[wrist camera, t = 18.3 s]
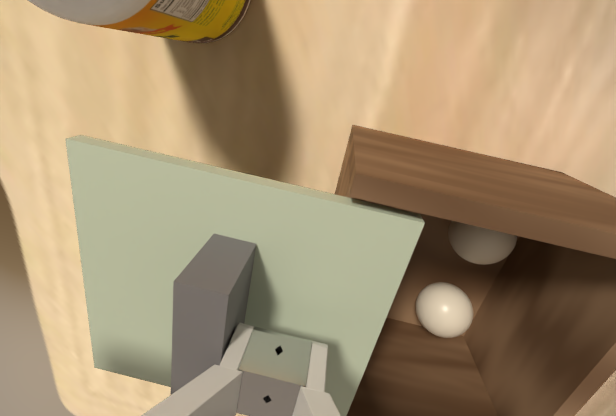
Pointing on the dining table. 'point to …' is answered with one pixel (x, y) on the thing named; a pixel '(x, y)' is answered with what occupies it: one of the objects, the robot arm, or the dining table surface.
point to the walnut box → (489, 284)
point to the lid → (227, 264)
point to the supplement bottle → (155, 16)
